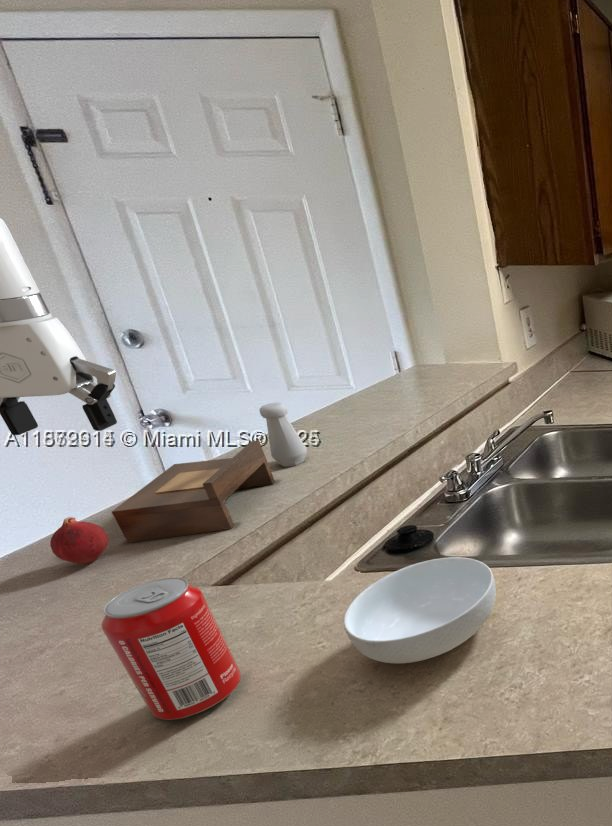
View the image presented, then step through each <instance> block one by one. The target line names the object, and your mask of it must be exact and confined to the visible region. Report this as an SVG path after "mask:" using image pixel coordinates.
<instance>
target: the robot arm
mask: <svg viewBox="0 0 612 826" xmlns="http://www.w3.org/2000/svg"><path fill="white" fill-rule="evenodd" d="M94 377H95V378H96V382H97V384H96V382H94V381H95V378H94ZM116 377H117V372H116V371H115V370H114V369H112V368H111V367H107V366H103V365H101V364H97V363H94V362H92V361H88V360H87V358H86V357H85V355H84V353H83V352H82V351H81V349H80V347H79V345H78V344H77V342H76V341H75V339H74V338H73V337H72V335H71V333H70V332H69V331H68V330H67V328H66V327H65V325H64V324H63V323H62V322H61V321H60V319H59V318H58V317H57V316H53V315H52V313H51V311H50V310H49V307H48V305H47V303H46V301H45V299H44V298H43V295H42V294H41V292H40V289H39V287H38V285H37V283H36V281H35V279H34V277H33V275H32V273H31V272H30V269H29V267H28V265H27V263H26V261H25V258H24V256H23V255H22V253H21V251H20V249H19V247H18V245H17V243H16V241H15V238H14V237H13V235H12V233H11V231H10V229H9V227H8V226H7V223H6V221H4V219H2V218H1V217H0V416H1V418H2V420H3V421H4V423H5V425H6V427H7V429H8V431H9V432H10V434H11V435H12V436H20V435H22V434H25V433H28V432H30V431H32V430H33V431H34V430H35V429H37V428H39V424H38V422H37V421H36V419H35V417H34V415H33V413H32V411H31V409H30V407H29V405H28V404H27V403H26V402H25V400H21V401H19V400H20V398H27V397H29V398H31V397H47V396H48V397H50V396H51V397H52V396H60V395H61V396H62V395H66V394H68V393H69V394H70V395H72V396H73V397H75V398H77V399H79V400H80V401H82V402H84V403H85V404H82V405H81V406H82V410H83V412H84V414H85V415H86V417H87V420H88V421H89V423H90V425H91V427H92V429H93V430H94V431H96V432H101V431H103V430H106V429H108V428H110V427H113V426H114V425H117V424H118V420H117V418H116V415H115V413H114V412H113V409H112V407H111V405H110V403H109V401H108V399H110V398H111V394H112V392H113V390H114V389H115V387H116V384H115V382H116Z"/></svg>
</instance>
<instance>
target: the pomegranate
mask: <svg viewBox="0 0 612 826" xmlns="http://www.w3.org/2000/svg"><path fill="white" fill-rule="evenodd" d="M109 543H110V538H109V535H108V533H107V532H106V531H105V529H104V528H102V527H101V526H100V525H98V524H96V523H92V522H89V521H77V520H76V517H73V516H68V517H65V518H64V519H63V521H62V525H61V526H60V527H59V528H58V529H57V530H55V531H54V532H53V534H52V536H51V537H50V543H49V545H50V549H51V551H52V553H53V555H54V556H55V557H56V558H58V559H59V560H62V561H65V562H70V563H74V564H75V563H76V564H92V563H94V562H96V561H97V559H98V558H99V557H100V556H101V555H103V553H104V552H105V551H106V549H107V548H108V546H109Z"/></svg>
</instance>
